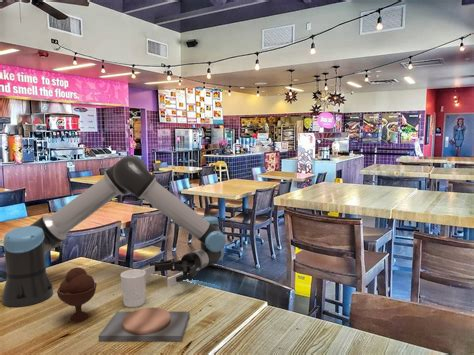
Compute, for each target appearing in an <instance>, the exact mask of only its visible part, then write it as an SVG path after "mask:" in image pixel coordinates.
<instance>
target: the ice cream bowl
mask: <svg viewBox="0 0 474 355" xmlns="http://www.w3.org/2000/svg"><path fill="white" fill-rule="evenodd" d="M97 285H98V284H97V282H95V279H94V277H93V276H91V275H90V274H88V273H87V271H86V270H85V269H84V268H83V267H77V266H75V267H73V268H71V269H69V270H68V271H67V273H66V274H65V279H64V280H63V281H62V282H61V283H60V285H59V287H58V288H57V291H56V294H57V296H58V299H59V300H60V301H61V302H63V303H64V304H66V305H68V306H71V307H75V308H74V309H75V312H74V313H72V314H70V316H69V318H68V320H69V321H70V322H72V323H78V322H84V321H85V320H87V319H88V318H89V317H90V316H89V313H88V312H86V311H83V310H82V309H83V308H82V306H83V305H85V304H86V303H88V302H89V301H90V300H91V299H93V297H94V296H95V293H96V290H97Z"/></svg>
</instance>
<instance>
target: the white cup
mask: <svg viewBox="0 0 474 355" xmlns="http://www.w3.org/2000/svg"><path fill="white" fill-rule="evenodd" d="M146 278H147V276H146V272H145V271H144V270H142V269H138V268H137V269H136V268H135V269H128V270H125V271H122V272H121V273H120V284H121V293H122V299H123V305H124V306H125V307H127V308H137V307H140V306H142V305H144V304H145V302H146V284H147V283H146Z"/></svg>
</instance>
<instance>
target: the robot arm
mask: <svg viewBox="0 0 474 355" xmlns="http://www.w3.org/2000/svg"><path fill="white" fill-rule="evenodd" d="M128 193H130V194H131V195H133V196H134V197H136V199H139V200H140V199H143V200H145V201H146V202H148V203H149V204H150V205H152V206H153V207H154V208H155V209H157V210H158V211H159V212H161V213H162V214H163V215H165V216H166V217H168V218H169V219H170V220H171V221H173V222H174V223H175V224H177V225H178V226H179V227H181V228H182V229H183V230H185V231H186V232H187V233H189V235H191V236H192V237H194V238H195V239H197V240H198V241H199V242H200V248H198V249H196V250H193V251H190V252H188V253H185V254H184V255H183V256H182V257H181V259H178V260H176V259H175V258H171V259H168V260H167V259H166V260H161V261H156V262H151V263H149V266H148V267H145V268H142V269H141V270H144V271H145V272H146V277H149V276H151V275H154V274H155V273H157V272H167V271H171V272H179V273H176V274H174V275H172V276H170V277H167V278H166V279H167V280H166V281H167V282H166V284H167V287H172V286H174V285H176V284H177V283H180V282H182V281H187V280H188V281H189V282H191V281H193V279H194V278H195V276H196V275H197V274H198V273H200V270H201V269H205V268H206V267H209V266H211V265H213V264H217V262H220V261H221V260H222V259H223V258H224V255H225V250H224V248H225V246H226V244H227V243H226V236H225V234H224V233H223V232H222V230H221V228H220V227H219V226H220V223H219V218H218V217H216V216H204V217H203V216H201V215H200V214H199V213H198V212H196V211H195V210H194V209H193V208H191V207H190V206H188V205H187V204H186V203H185V202H183V200H181V199H180V198H179V197H177V196H175V195H174V194H173V193H172V192H170V191H169V190H168V189H167V188H165V187H164V186H163V185H161V184H160V183H159V182H158V181H157V178H156V176H154V175H153V174H152V173H151V172H150V171H149V170H148V168H147V165H146V163H145V161H144V160H143V159H142V158H140V157H139V156H137V155H126V156H123V157H122V158H121V159H119V160H118V161H117V162H116V163H115V164H113V165H111V166H110V167H109V168H108V169H106V170H105V171H104V175H103V177H102V178H101V179H99V180H98V181H96V182H95V183H93V184H92V185H91V186H90V187H89V188H87V189H86V190H84V191H83V192H81V193H80V194H78V195H77V196H76V197H75V198H73V199H72V200H71V201H69V202H68V203H67V204H65V205H64V206H63V207H61V208H60V209H58V210H57V211H55V212H54V213H53V214H51V215H49V214H44V215H43V216H41V217H40V218H39V219H37V220H36V221H35V222H33V223H31V224H30V225H26V226H19V227H17V228H13V229H11V230H9V231H7V232H6V233H5V235H4V237H3V238H4V239H3V248H4V258H5V259H4V260H5V271H6V272H5V273H6V281H5V284H4V287H3V291H2V295H1V302H2V304H3V305H4V306H7V307H11V308H12V307H14V308H17V307H25V306H31V305H36V304H38V303H42V302H44V301H46V300H48V299H49V298H51V297H52V296H53V294H54V287H53V284H52V282H51V280H50V277H49V276H48V273H47V268H46V266H47V265H46V255H47V254H48V253H49V252H50V251H51V250H53V249H54V248H55V247H56V246H58V245H59V244H61V243H62V242H63V241H64V240H66V239H67V233H69V232H70V231H71V230H73V229H75V227H77V226H78V225H79V224H81V223H82V222H83V221H85V220H86V219H88V218H89V217H90V216H92V215H93V214H94V213H95V212H97V211H98V210H100V209H101V208H102V207H104V206H105V205H107V204H109V202H110V201H111V200H113V199H114V198H116V197H118V196H125V195H126V194H128Z"/></svg>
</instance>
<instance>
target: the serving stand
mask: <svg viewBox="0 0 474 355" xmlns="http://www.w3.org/2000/svg"><path fill="white" fill-rule="evenodd" d="M190 315H191V314H190V311H168V310H167V309H164V308H160V307H155V306H154V307H153V306H152V307H151V306H150V307H142V308H139V309H135V310H132V311H130V310H129V311H127V310H125V311H123V310H122V311H120V310H119V311H115V314H113V316H112V317H111V318H110V320H109V321H108V323H106V325H105V327H104V328H103V329H102V330H101V332H100V333H99V335H98V342H182V341H183V337H184V335H185V332H186V329H187V327H188V326H187V325H188V322H189V319H190Z"/></svg>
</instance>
